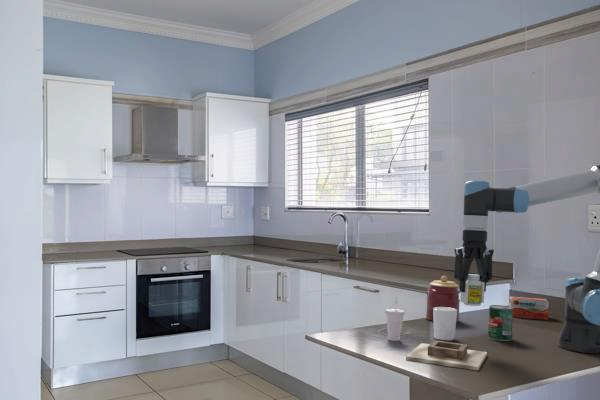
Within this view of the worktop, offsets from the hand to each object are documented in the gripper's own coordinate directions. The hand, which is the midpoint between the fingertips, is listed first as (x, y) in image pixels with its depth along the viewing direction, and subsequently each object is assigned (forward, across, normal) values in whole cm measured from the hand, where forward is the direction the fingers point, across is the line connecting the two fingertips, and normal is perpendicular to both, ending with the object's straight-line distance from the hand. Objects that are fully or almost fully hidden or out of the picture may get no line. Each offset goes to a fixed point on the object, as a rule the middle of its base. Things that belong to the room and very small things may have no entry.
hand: (472, 302), depth 191 cm
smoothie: (+15, +19, -15) cm, 28 cm away
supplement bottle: (+1, 0, 0) cm, 1 cm away
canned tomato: (+15, -20, -11) cm, 27 cm away
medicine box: (+15, -64, -46) cm, 80 cm away
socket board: (+15, +15, +9) cm, 23 cm away
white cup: (+15, 0, -14) cm, 21 cm away
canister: (+15, -20, -44) cm, 50 cm away
